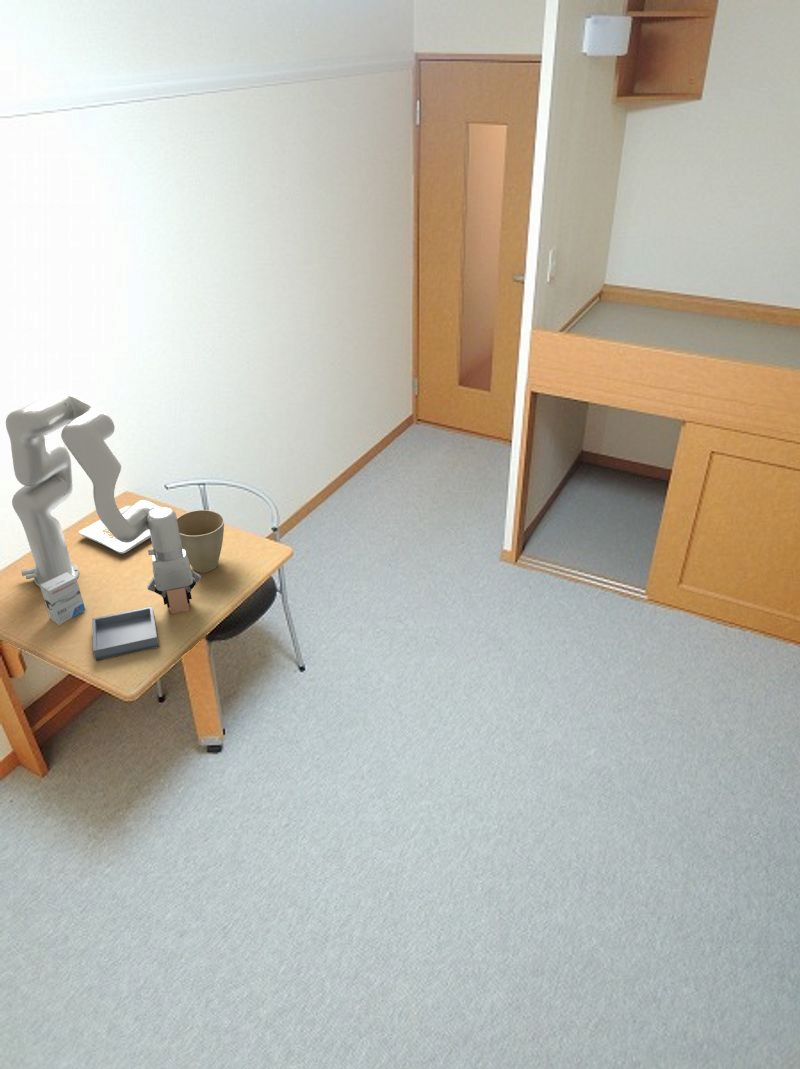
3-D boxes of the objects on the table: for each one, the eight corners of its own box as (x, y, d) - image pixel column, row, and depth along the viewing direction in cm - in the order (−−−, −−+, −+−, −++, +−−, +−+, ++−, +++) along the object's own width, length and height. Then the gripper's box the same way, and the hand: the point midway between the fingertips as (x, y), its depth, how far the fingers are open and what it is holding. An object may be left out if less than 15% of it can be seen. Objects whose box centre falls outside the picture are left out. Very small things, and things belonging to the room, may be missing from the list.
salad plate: (173, 530, 251) (172, 521, 249) (123, 560, 235) (121, 551, 234) (130, 512, 260) (128, 503, 258) (78, 540, 245) (76, 531, 243)
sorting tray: (95, 660, 196) (93, 650, 194) (94, 628, 207) (91, 618, 205) (159, 647, 201) (156, 637, 199) (154, 615, 212) (152, 606, 210)
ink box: (76, 603, 216) (67, 570, 210) (86, 610, 214) (76, 577, 207) (49, 618, 211) (38, 584, 204) (58, 625, 208) (47, 591, 202)
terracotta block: (171, 613, 213) (166, 591, 208) (169, 603, 217) (164, 581, 212) (189, 610, 214) (184, 587, 210) (187, 599, 218) (182, 577, 214)
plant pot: (192, 586, 224) (184, 541, 215) (173, 562, 234) (165, 519, 225) (238, 569, 231) (232, 525, 223) (217, 547, 241) (211, 504, 233)
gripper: (136, 564, 200) (148, 617, 209) (201, 552, 205) (210, 604, 214) (134, 549, 205) (146, 601, 215) (198, 537, 210) (206, 589, 220)
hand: (178, 602), depth 215 cm, fingers closed on terracotta block, 4 cm apart
